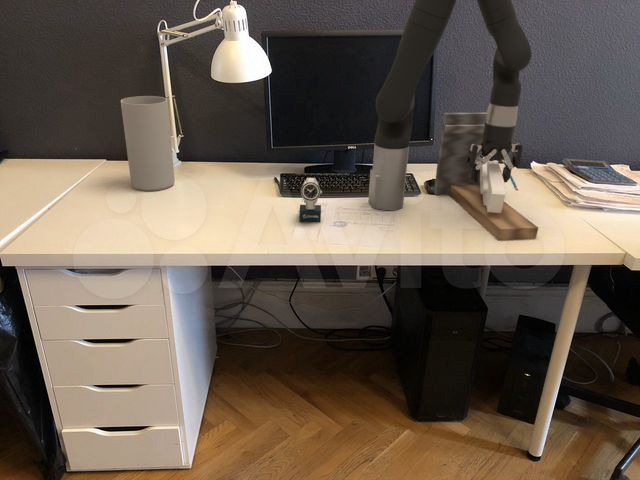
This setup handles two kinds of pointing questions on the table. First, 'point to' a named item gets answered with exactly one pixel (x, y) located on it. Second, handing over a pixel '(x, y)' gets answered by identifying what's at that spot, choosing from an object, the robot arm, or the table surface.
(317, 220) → the watch
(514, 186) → the pencil
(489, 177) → the shelf bracket
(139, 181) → the cylinder vase
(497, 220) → the cleat wall board
